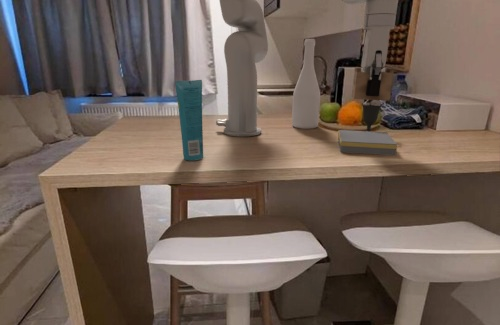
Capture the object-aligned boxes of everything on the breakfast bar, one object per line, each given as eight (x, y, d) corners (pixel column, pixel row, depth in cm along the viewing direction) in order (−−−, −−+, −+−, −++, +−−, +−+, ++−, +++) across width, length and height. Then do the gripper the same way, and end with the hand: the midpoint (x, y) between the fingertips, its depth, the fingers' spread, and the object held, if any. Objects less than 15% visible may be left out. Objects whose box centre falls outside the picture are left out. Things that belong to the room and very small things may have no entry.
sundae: (380, 138, 103) (387, 90, 98) (358, 137, 104) (364, 89, 100) (377, 133, 109) (383, 87, 104) (356, 132, 110) (361, 87, 106)
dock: (339, 152, 88) (340, 141, 87) (337, 139, 101) (338, 129, 100) (395, 155, 85) (397, 144, 84) (385, 142, 99) (386, 132, 98)
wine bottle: (297, 129, 114) (302, 38, 104) (288, 124, 122) (291, 39, 113) (322, 128, 116) (329, 38, 106) (311, 123, 125) (317, 39, 115)
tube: (198, 153, 86) (194, 78, 80) (210, 156, 83) (208, 79, 77) (175, 159, 81) (169, 80, 75) (187, 163, 78) (183, 81, 72)
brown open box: (354, 99, 87) (357, 68, 84) (351, 96, 93) (354, 67, 90) (389, 100, 85) (394, 68, 83) (385, 97, 91) (389, 67, 89)
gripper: (360, 26, 92) (353, 90, 97) (368, 20, 76) (359, 97, 81) (388, 25, 90) (379, 91, 96) (402, 19, 74) (391, 98, 80)
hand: (370, 93), depth 89 cm, fingers closed on brown open box, 6 cm apart
